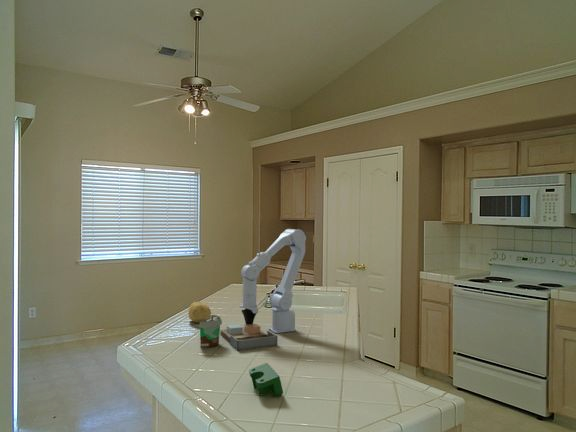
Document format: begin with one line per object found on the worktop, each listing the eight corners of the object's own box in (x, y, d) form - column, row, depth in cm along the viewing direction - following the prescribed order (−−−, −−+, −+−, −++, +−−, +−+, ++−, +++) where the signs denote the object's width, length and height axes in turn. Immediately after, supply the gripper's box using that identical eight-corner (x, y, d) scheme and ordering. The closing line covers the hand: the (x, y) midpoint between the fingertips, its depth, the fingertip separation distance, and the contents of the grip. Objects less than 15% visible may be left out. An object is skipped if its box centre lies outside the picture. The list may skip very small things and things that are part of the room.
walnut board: (254, 330, 180) (254, 326, 180) (267, 339, 168) (267, 334, 168) (220, 334, 174) (220, 329, 174) (231, 344, 161) (231, 338, 161)
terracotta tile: (255, 329, 175) (255, 323, 175) (260, 332, 170) (260, 326, 170) (244, 330, 173) (244, 324, 173) (248, 334, 168) (248, 327, 168)
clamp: (256, 401, 121) (246, 370, 124) (275, 394, 124) (265, 363, 126) (264, 402, 111) (253, 367, 113) (285, 393, 113) (274, 360, 115)
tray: (268, 339, 168) (268, 330, 168) (277, 345, 160) (277, 336, 160) (230, 344, 161) (230, 335, 161) (237, 350, 153) (237, 341, 153)
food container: (214, 350, 154) (215, 323, 154) (198, 349, 155) (199, 322, 155) (226, 340, 166) (226, 315, 166) (211, 339, 167) (211, 314, 167)
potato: (188, 326, 186) (188, 305, 186) (188, 318, 200) (188, 298, 200) (211, 325, 188) (211, 304, 188) (210, 318, 202) (210, 298, 202)
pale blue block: (238, 330, 174) (238, 324, 174) (242, 333, 169) (242, 327, 169) (226, 331, 171) (226, 325, 171) (230, 334, 167) (230, 328, 167)
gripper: (234, 292, 180) (234, 324, 180) (246, 298, 167) (246, 332, 167) (250, 290, 183) (249, 322, 183) (263, 296, 170) (262, 330, 170)
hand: (249, 327), depth 175 cm, fingers closed
